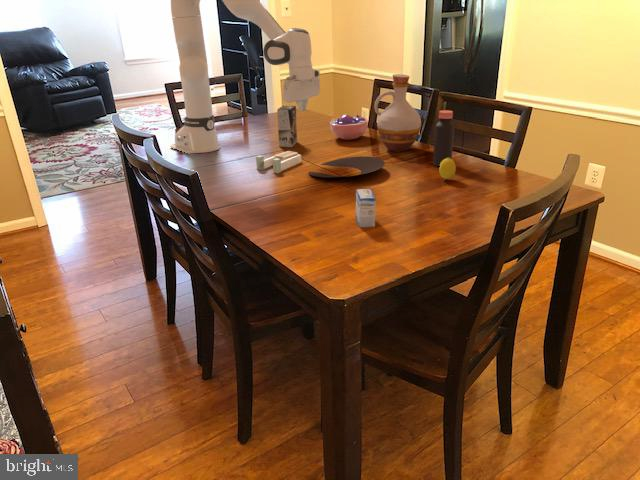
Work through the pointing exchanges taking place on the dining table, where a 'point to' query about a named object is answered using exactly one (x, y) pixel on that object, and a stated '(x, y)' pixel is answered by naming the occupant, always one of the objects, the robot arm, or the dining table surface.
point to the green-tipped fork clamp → (277, 163)
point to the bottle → (443, 137)
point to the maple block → (285, 155)
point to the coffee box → (287, 126)
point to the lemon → (447, 168)
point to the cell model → (349, 126)
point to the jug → (398, 118)
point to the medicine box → (365, 208)
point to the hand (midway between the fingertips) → (302, 110)
